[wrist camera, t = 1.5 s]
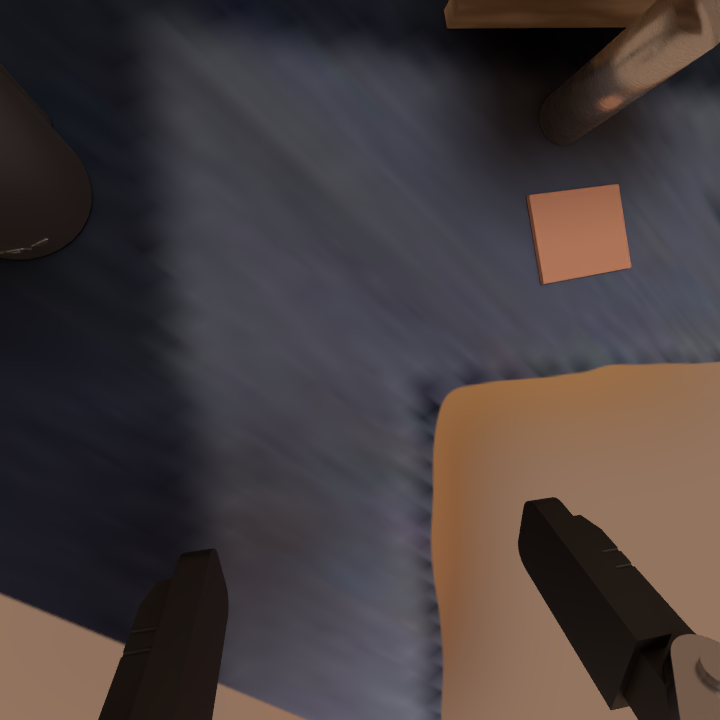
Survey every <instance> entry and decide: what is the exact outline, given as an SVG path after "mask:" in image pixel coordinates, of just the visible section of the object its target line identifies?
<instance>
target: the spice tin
mask: <svg viewBox="0 0 720 720" xmlns="http://www.w3.org/2000/svg"><path fill="white" fill-rule="evenodd" d="M719 42H720V0H657V1H656V2H655V3H654V4H653V5H652V6H650V7H649V8H648V9H647V10H646V11H645V12H644V13H643V14H641V15H640V16H639V17H638V18H637V19H636V20H635V21H634V22H632V23H631V24H630V25H629V26H628V27H627V28H626V29H625V30H623V31H622V32H621V33H620V34H619V35H618V36H617V37H616V38H614V39H613V40H612V41H611V42H610V43H609V44H608V45H607V46H605V47H604V48H603V49H602V50H601V51H600V52H599V53H598V54H596V55H595V56H594V57H593V58H592V59H591V60H590V61H589V62H587V63H586V64H585V65H584V66H583V67H582V68H581V69H580V70H578V71H577V72H576V73H575V74H574V75H573V76H572V77H571V78H569V79H568V80H567V81H566V82H565V83H564V84H563V85H562V86H560V87H559V88H558V89H557V90H556V91H555V92H554V93H553V94H551V95H550V96H549V97H548V98H547V99H546V100H545V101H544V102H543V104H542V106H541V108H540V113H539V121H540V126H541V129H542V131H543V133H544V134H545V136H546V137H547V138H548V139H549V140H550V141H551V142H553V143H554V144H557V145H561V146H565V145H569V144H571V143H573V142H574V141H576V140H577V139H579V138H580V137H582V136H583V135H585V134H586V133H588V132H589V131H591V130H592V129H594V128H595V127H597V126H598V125H599V124H601V123H602V122H604V121H605V120H607V119H608V118H610V117H611V116H613V115H614V114H616V113H617V112H619V111H620V110H622V109H623V108H625V107H626V106H628V105H629V104H631V103H632V102H634V101H635V100H636V99H638V98H639V97H641V96H642V95H644V94H645V93H647V92H648V91H650V90H651V89H653V88H654V87H656V86H657V85H659V84H660V83H662V82H663V81H665V80H666V79H668V78H669V77H671V76H672V75H673V74H675V73H676V72H678V71H679V70H681V69H682V68H684V67H685V66H687V65H688V64H690V63H691V62H693V61H694V60H696V59H697V58H699V57H700V56H702V55H703V54H705V53H706V52H708V51H709V50H711V49H712V48H713V47H715V46H716V45H718V44H719Z"/></svg>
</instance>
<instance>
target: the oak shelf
mask: <svg viewBox="0 0 720 720" xmlns="http://www.w3.org/2000/svg"><path fill="white" fill-rule="evenodd" d="M656 1H657V0H449V2H448V4H447V6H446V7H445V9H444V13H445V19H446V25H447V29H449V28H594V27H628V26H629V25H630V24H631V23H632V22H634V21H635V20H636V19H637V18H638V17H639V16H640V15H641V14H643V13H644V12H645V11H646V10H647V9H648V8H649V7H650V6H652V5H653V4H654V3H655V2H656Z"/></svg>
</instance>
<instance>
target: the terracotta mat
mask: <svg viewBox="0 0 720 720" xmlns="http://www.w3.org/2000/svg"><path fill="white" fill-rule="evenodd" d="M526 198H527V204H528V210H529V216H530V222H531V228H532V234H533V240H534V246H535V252H536V258H537V264H538V270H539V276H540V282H541V285H542V284H547V283H553V282H558V281H563V280H569V279H574V278H579V277H585V276H590V275H595V274H601V273H606V272H611V271H617V270H622V269H627V268H631V263H630V256H629V250H628V243H627V237H626V230H625V223H624V217H623V210H622V203H621V197H620V190H619V184H615V185H607V186H599V187H591V188H583V189H575V190H566V191H558V192H550V193H542V194H534V195H529V196H527V197H526Z"/></svg>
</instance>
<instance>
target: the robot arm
mask: <svg viewBox="0 0 720 720" xmlns="http://www.w3.org/2000/svg"><path fill="white" fill-rule="evenodd" d="M91 204H92V191H91V185H90V181H89V177H88V174H87V172H86V170H85V168H84V166H83V164H82V162H81V160H80V159H79V158H78V157H77V155H76V154H75V153H74V151H73V150H72V149H71V148H70V147H69V146H68V144H67V143H66V142H65V141H64V140H63V139H62V138H61V137H60V136H59V135H58V134H57V132H56V131H55V130H54V129H53V128H52V125H51V121H50V119H49V117H48V116H47V115H46V114H45V113H44V112H43V111H42V110H41V108H40V107H39V106H38V105H37V104H36V103H35V102H34V101H33V100H32V98H31V97H30V96H29V95H28V94H27V93H26V92H25V91H24V89H23V88H22V87H21V86H20V85H19V84H18V83H17V82H16V80H15V79H14V78H13V77H12V76H11V75H10V74H9V73H8V72H7V70H6V69H5V68H4V67H3V66H2V65H1V64H0V258H5V259H12V260H17V259H33V258H37V257H42V256H46V255H48V254H51V253H53V252H55V251H57V250H60V249H61V248H63V247H64V246H65V245H67V244H68V243H70V242H71V241H72V240H73V239H74V238H75V237H76V236H77V235H78V233H79V232H80V231H81V230H82V228H83V227H84V225H85V223H86V221H87V219H88V217H89V212H90V208H91ZM518 549H519V554H520V557H521V560H522V563H523V565H524V567H525V568H526V570H527V572H528V574H529V575H530V577H531V579H532V580H533V582H534V583H535V585H536V587H537V589H538V590H539V592H540V593H541V595H542V597H543V598H544V600H545V602H546V603H547V605H548V607H549V608H550V610H551V612H552V613H553V615H554V617H555V618H556V620H557V622H558V623H559V625H560V626H561V628H562V630H563V632H564V633H565V635H566V637H567V638H568V640H569V642H570V643H571V645H572V646H573V648H574V650H575V652H576V653H577V655H578V656H579V658H580V660H581V661H582V663H583V665H584V667H585V668H586V670H587V671H588V673H589V675H590V676H591V678H592V680H593V681H594V683H595V684H596V686H597V688H598V690H599V691H600V693H601V695H602V696H603V698H604V700H605V701H606V703H607V705H608V706H609V708H610V710H614V709H619V708H623V707H628V706H630V707H631V709H632V710H633V712H634V714H635V715H636V717H637V718H638V720H720V643H719V642H717V641H715V640H712V639H710V638H707V637H704V636H700V635H697V634H695V633H694V632H693V631H692V630H691V629H690V628H689V627H688V626H687V625H686V623H685V622H684V621H683V620H682V619H681V618H680V617H679V616H678V615H677V613H676V612H675V611H674V610H673V609H672V608H671V607H670V606H669V604H668V603H667V602H666V601H665V600H664V599H663V598H662V597H661V595H660V594H659V593H658V592H657V591H656V590H655V589H654V588H653V587H652V585H651V584H650V583H649V582H648V581H647V580H646V579H645V578H644V577H643V575H642V574H641V573H640V572H639V571H638V570H637V569H636V568H635V567H633V566H632V565H631V562H630V561H629V560H628V558H627V557H626V556H625V555H624V554H623V553H622V552H621V551H619V550H618V548H617V546H616V545H615V544H614V543H613V542H612V541H611V539H609V537H608V536H607V535H606V534H605V533H604V532H603V531H602V529H600V528H599V527H597V526H596V525H594V524H593V523H591V522H590V521H589V520H587V519H586V518H584V517H583V516H581V515H577V516H573V515H572V514H571V513H570V512H569V511H568V509H567V508H566V507H565V506H564V505H563V503H562V502H561V501H560V500H558V499H557V498H554V497H552V498H545V499H539V500H532V501H527V502H526V503H525V504H524V509H523V514H522V521H521V527H520V534H519V540H518ZM227 618H228V592H227V587H226V583H225V580H224V576H223V572H222V569H221V565H220V561H219V557H218V554H217V551H216V549H207V550H201V551H194V552H188V553H183V554H181V556H180V558H179V560H178V563H177V566H176V570H175V573H174V576H173V579H172V580H166V581H160V582H157V583H156V585H155V586H154V587H153V589H152V590H151V591H150V593H149V594H148V595H147V597H146V598H145V599H144V601H143V602H142V603H141V605H140V607H139V610H138V613H137V615H136V618H135V621H134V624H133V626H132V629H131V635H129V637H128V640H127V643H126V645H125V648H124V651H123V657H122V658H121V659H120V662H119V665H118V667H117V670H116V673H115V676H114V678H113V681H112V684H111V687H110V689H109V692H108V695H107V697H106V700H105V703H104V705H103V708H102V711H101V714H100V716H99V719H98V720H212V716H213V709H214V702H215V696H216V690H217V683H218V677H219V670H220V664H221V657H222V651H223V644H224V638H225V631H226V625H227Z"/></svg>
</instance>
